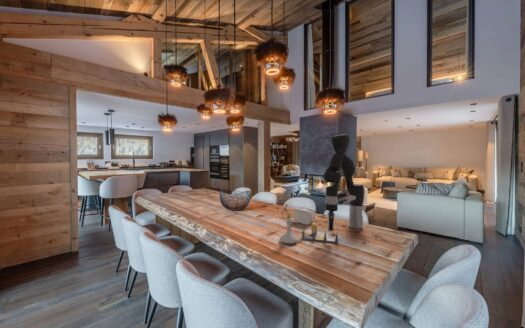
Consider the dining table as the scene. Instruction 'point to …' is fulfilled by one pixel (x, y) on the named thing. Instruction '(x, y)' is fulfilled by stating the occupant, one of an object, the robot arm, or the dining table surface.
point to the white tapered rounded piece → (288, 231)
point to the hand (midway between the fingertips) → (330, 229)
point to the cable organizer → (304, 215)
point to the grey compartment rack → (319, 238)
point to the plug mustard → (314, 228)
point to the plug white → (328, 225)
